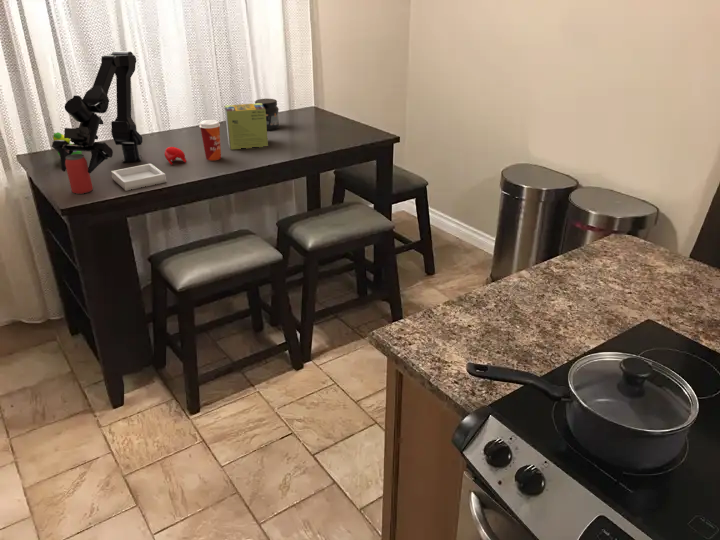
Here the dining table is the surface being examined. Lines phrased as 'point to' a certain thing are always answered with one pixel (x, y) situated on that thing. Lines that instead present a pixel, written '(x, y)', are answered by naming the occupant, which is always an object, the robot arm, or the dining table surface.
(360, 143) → the dining table surface
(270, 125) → the supplement container
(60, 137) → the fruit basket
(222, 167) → the dining table surface
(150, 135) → the dining table surface
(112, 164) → the dining table surface
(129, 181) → the tray
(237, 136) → the protein box
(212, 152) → the paper cup
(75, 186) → the beer can
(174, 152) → the cap
